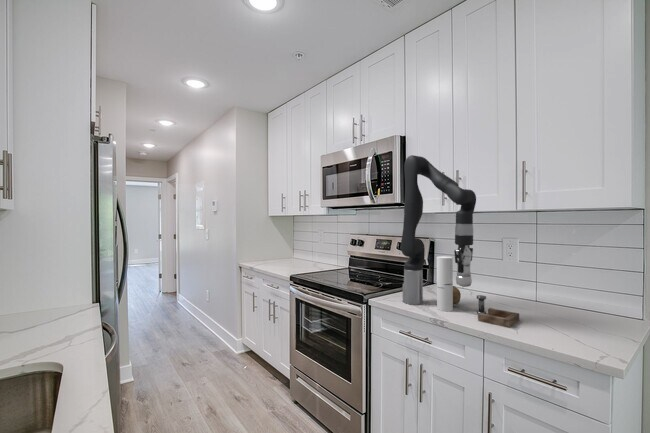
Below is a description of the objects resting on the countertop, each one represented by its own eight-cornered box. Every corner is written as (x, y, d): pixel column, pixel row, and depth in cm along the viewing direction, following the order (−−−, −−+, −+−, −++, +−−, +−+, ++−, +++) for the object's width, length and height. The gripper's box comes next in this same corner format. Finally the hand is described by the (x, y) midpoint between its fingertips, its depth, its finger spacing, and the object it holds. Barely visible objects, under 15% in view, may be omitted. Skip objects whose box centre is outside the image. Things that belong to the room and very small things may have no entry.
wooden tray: (478, 320, 139) (478, 313, 139) (489, 314, 148) (489, 307, 148) (509, 327, 130) (509, 320, 130) (519, 320, 139) (519, 313, 139)
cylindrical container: (454, 311, 152) (453, 258, 152) (438, 311, 153) (437, 257, 153) (451, 307, 159) (451, 256, 159) (436, 307, 160) (435, 256, 160)
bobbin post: (475, 313, 149) (475, 296, 149) (478, 312, 151) (478, 294, 151) (484, 315, 146) (484, 297, 146) (487, 313, 149) (487, 296, 149)
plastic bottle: (464, 288, 141) (464, 242, 141) (452, 285, 147) (452, 241, 147) (475, 287, 144) (475, 242, 143) (463, 284, 150) (463, 240, 150)
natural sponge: (444, 302, 169) (444, 282, 169) (462, 304, 164) (462, 284, 164) (439, 306, 162) (439, 286, 162) (458, 308, 157) (458, 288, 157)
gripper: (462, 233, 153) (462, 269, 153) (448, 234, 143) (448, 272, 143) (479, 233, 147) (478, 271, 148) (465, 235, 138) (465, 275, 138)
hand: (463, 271), depth 145 cm, fingers closed on plastic bottle, 5 cm apart
